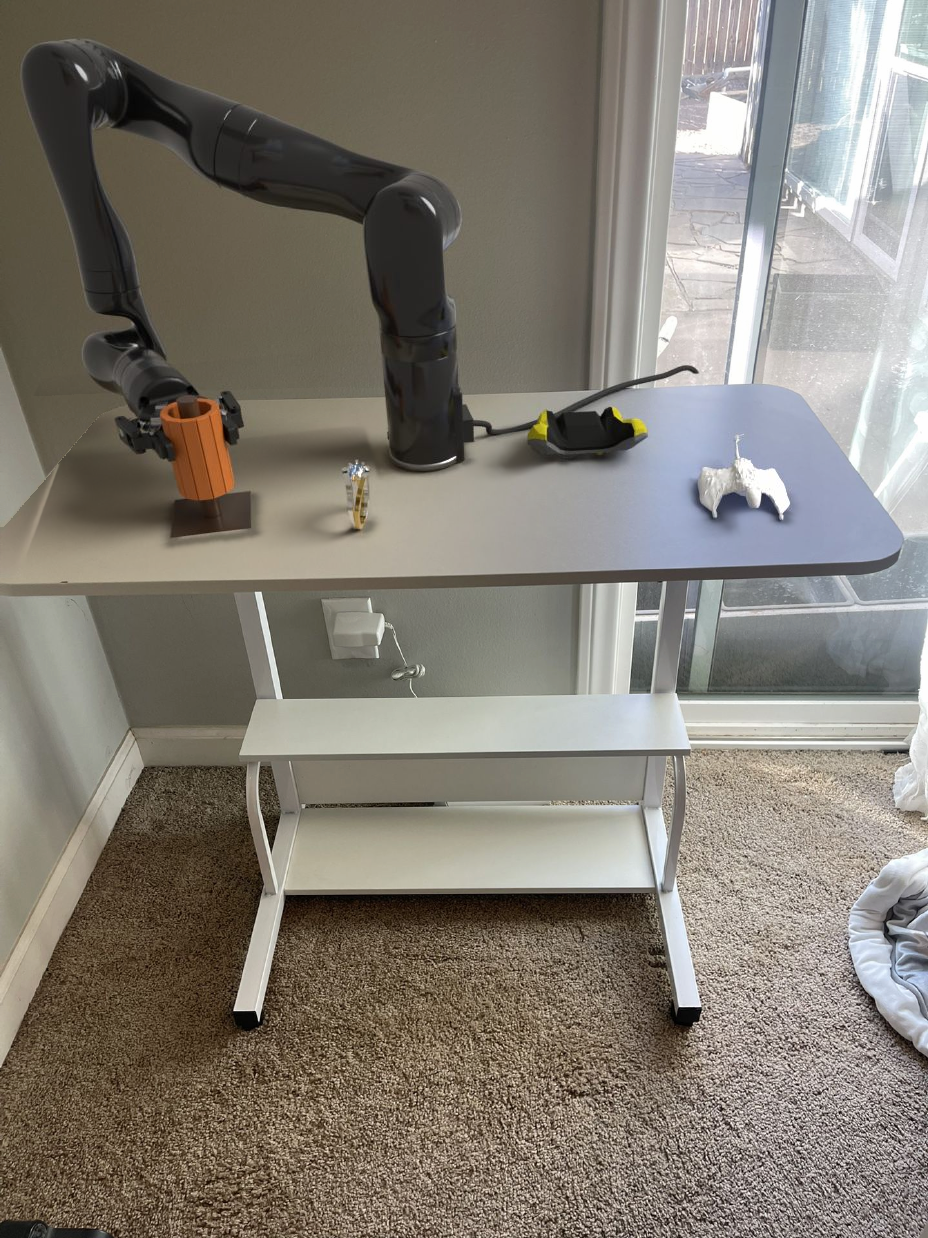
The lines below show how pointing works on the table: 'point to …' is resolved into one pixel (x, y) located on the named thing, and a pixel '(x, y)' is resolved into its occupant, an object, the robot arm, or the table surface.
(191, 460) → the orange stave barrel
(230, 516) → the brown peg stand
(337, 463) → the table surface
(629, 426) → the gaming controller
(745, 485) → the white dragon
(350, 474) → the ring
